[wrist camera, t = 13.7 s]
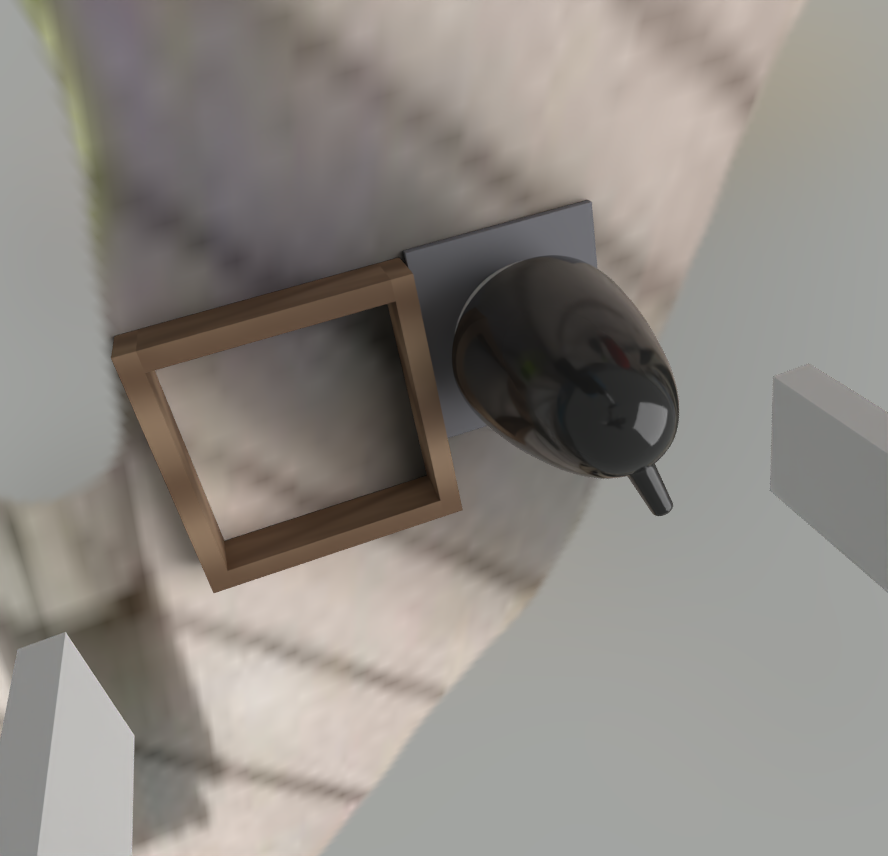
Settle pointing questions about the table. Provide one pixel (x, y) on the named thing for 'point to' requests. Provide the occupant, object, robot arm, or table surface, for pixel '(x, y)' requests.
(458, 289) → the rubber mat
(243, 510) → the table surface
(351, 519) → the frame
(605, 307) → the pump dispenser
